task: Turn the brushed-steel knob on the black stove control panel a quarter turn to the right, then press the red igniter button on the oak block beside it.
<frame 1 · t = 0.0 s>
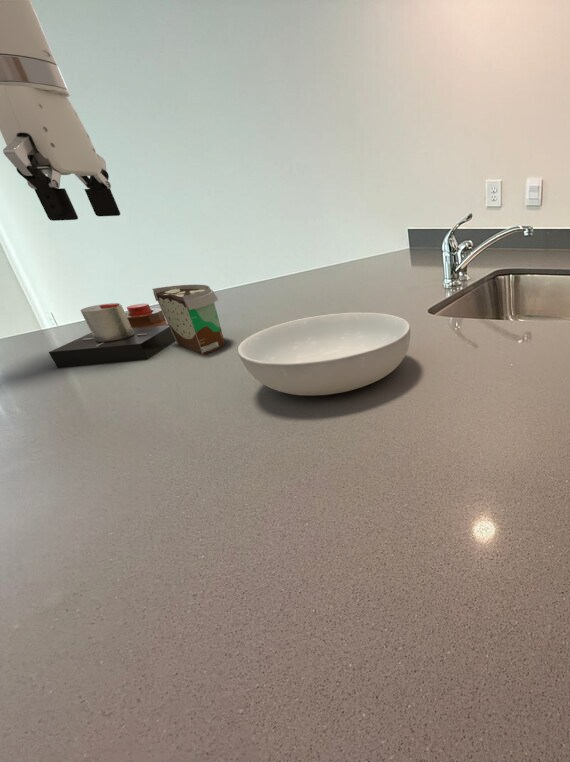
hand: (88, 217, 62), 21 cm above the countertop, tool pointing down, fingers open, 9 cm apart
serving bowl: (340, 380, 57), on the countertop
stove panel: (123, 354, 68), on the countertop
food container: (211, 347, 70), on the countertop
stove knob: (107, 321, 65), point 6 cm above the countertop, hinge at 0.0°
igniter button: (139, 310, 76), point 4 cm above the countertop, slide at 0.1 cm
igniter: (149, 333, 78), on the countertop
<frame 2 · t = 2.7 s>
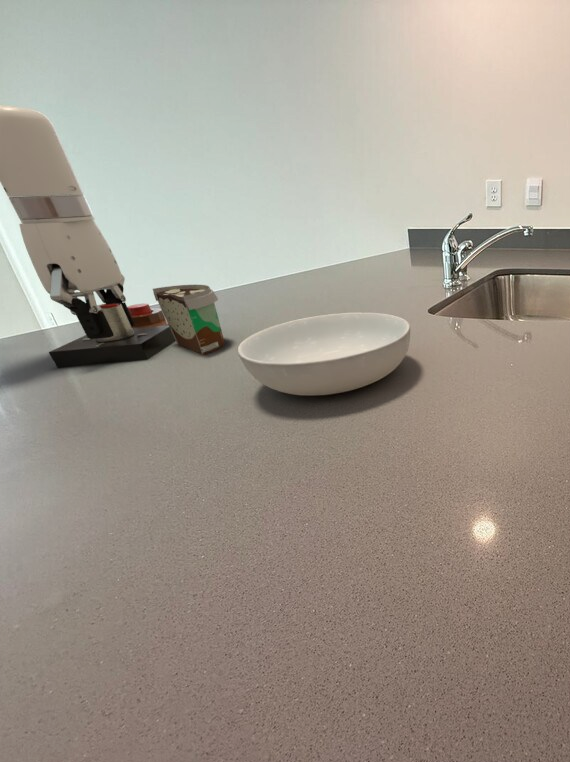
hand: (112, 330, 66), 4 cm above the countertop, tool pointing down, fingers closed on stove knob, 4 cm apart
stove knob: (107, 321, 65), point 6 cm above the countertop, hinge at -0.1°, touching gripper
everything else where it was.
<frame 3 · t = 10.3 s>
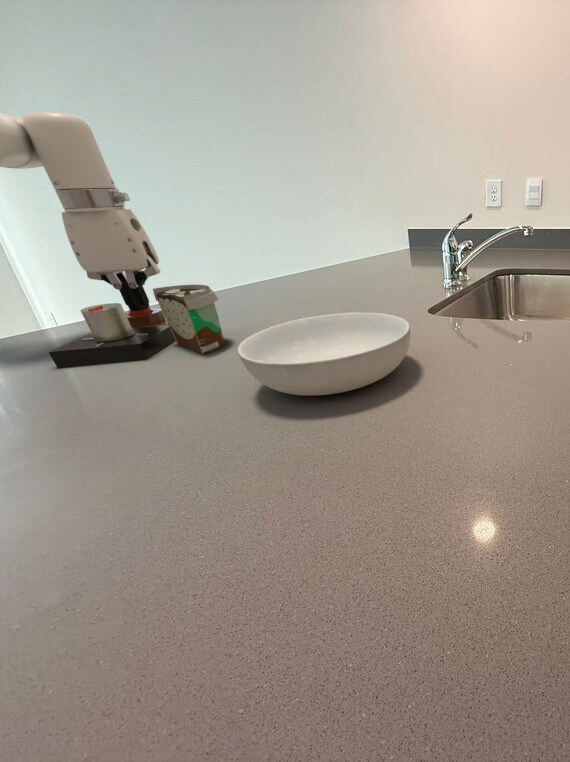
hand: (140, 308, 76), 5 cm above the countertop, tool pointing down, fingers closed
stove knob: (107, 321, 65), point 6 cm above the countertop, hinge at -90.6°
igniter button: (141, 313, 76), point 4 cm above the countertop, slide at -0.5 cm, touching gripper
everything else where it was.
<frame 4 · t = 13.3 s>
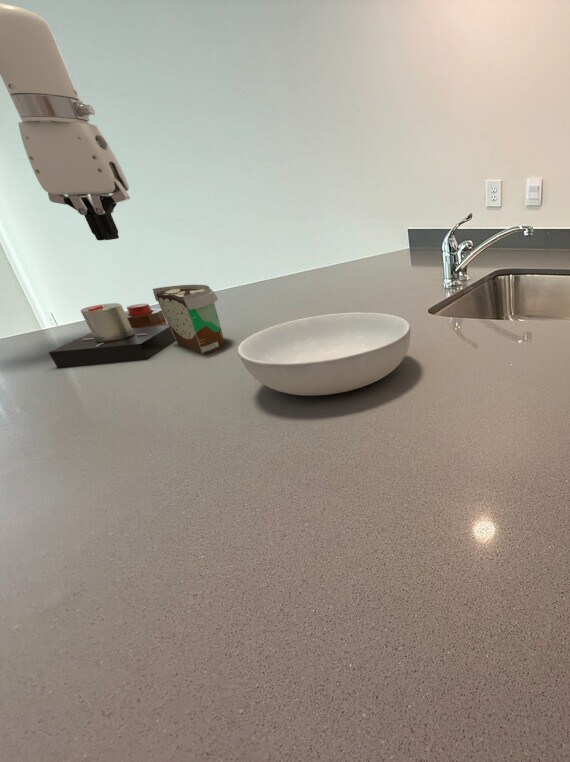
hand: (108, 239, 70), 17 cm above the countertop, tool pointing down, fingers closed
igniter button: (139, 310, 76), point 4 cm above the countertop, slide at 0.1 cm
everything else where it was.
at the end: stove knob at -91° (first picture: +0°); igniter button pushed in 1.1 cm at the most during the clip, back to where it started at the end; igniter button slide at 0.1 cm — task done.
